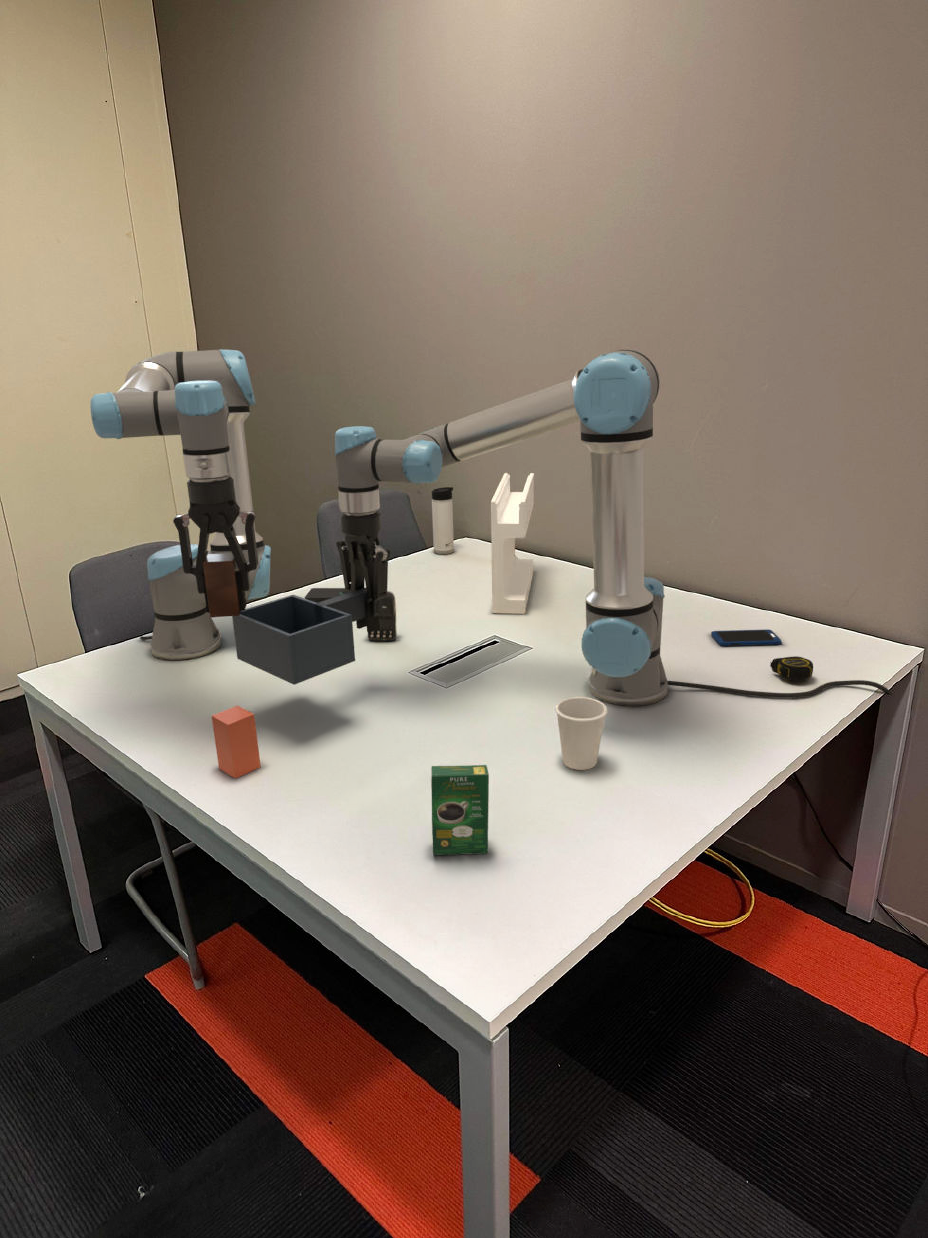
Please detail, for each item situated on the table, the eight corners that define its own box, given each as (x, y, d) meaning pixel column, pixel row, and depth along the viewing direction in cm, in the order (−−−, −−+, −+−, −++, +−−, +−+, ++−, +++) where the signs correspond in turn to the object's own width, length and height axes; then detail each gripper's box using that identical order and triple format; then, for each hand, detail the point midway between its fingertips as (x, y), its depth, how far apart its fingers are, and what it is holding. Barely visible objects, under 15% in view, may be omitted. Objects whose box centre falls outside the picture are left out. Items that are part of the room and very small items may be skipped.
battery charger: (365, 642, 195) (362, 595, 191) (368, 636, 199) (365, 589, 195) (395, 642, 195) (392, 595, 191) (398, 636, 198) (395, 589, 194)
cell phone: (782, 644, 188) (782, 641, 188) (719, 646, 188) (719, 643, 188) (770, 632, 195) (771, 629, 195) (710, 633, 195) (710, 630, 195)
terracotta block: (218, 768, 144) (211, 715, 140) (244, 757, 147) (237, 705, 144) (235, 778, 141) (227, 724, 137) (260, 767, 144) (254, 714, 141)
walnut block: (210, 617, 148) (202, 562, 144) (215, 608, 152) (207, 554, 149) (239, 616, 148) (232, 560, 145) (243, 606, 153) (236, 552, 149)
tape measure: (799, 669, 175) (801, 652, 174) (818, 683, 169) (820, 665, 168) (769, 672, 174) (770, 655, 173) (786, 686, 168) (788, 669, 167)
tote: (294, 685, 146) (289, 636, 143) (237, 658, 158) (231, 613, 155) (410, 639, 165) (408, 595, 162) (351, 618, 176) (348, 577, 173)
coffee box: (488, 842, 122) (487, 762, 118) (490, 854, 120) (488, 773, 115) (432, 844, 122) (429, 764, 117) (432, 857, 119) (429, 775, 115)
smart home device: (380, 597, 219) (304, 597, 221) (380, 604, 220) (304, 603, 221) (385, 587, 227) (311, 587, 228) (386, 593, 227) (312, 593, 229)
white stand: (505, 570, 244) (504, 473, 234) (533, 571, 243) (533, 473, 233) (492, 612, 211) (490, 501, 202) (524, 613, 210) (524, 501, 200)
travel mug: (452, 554, 260) (450, 489, 253) (431, 553, 262) (429, 489, 254) (456, 549, 266) (455, 485, 259) (436, 548, 267) (434, 485, 260)
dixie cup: (592, 779, 138) (594, 723, 134) (546, 766, 142) (546, 712, 138) (612, 756, 144) (615, 703, 141) (567, 744, 148) (569, 692, 145)
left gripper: (148, 484, 138) (170, 619, 146) (262, 479, 139) (276, 613, 147) (159, 475, 145) (178, 605, 153) (267, 470, 146) (280, 599, 154)
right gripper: (403, 513, 157) (409, 632, 166) (349, 502, 167) (357, 614, 176) (372, 521, 152) (379, 643, 160) (318, 509, 162) (328, 624, 171)
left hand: (226, 608), depth 150 cm, fingers closed on walnut block, 5 cm apart
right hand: (368, 628), depth 168 cm, fingers closed on tote, 2 cm apart
